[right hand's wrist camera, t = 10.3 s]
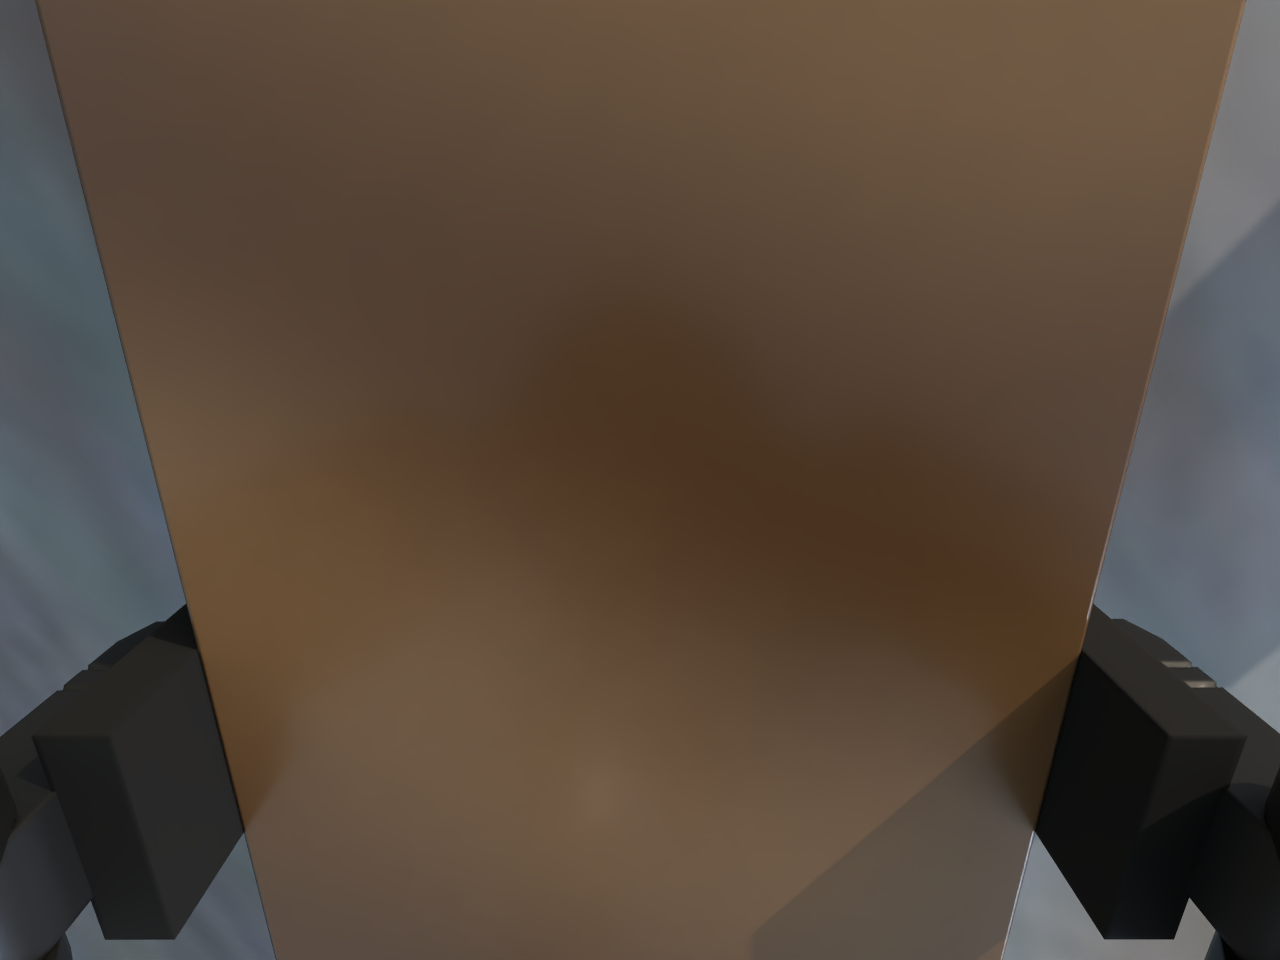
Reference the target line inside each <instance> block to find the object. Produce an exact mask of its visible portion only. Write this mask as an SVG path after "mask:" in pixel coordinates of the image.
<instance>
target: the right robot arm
mask: <svg viewBox="0 0 1280 960" xmlns="http://www.w3.org/2000/svg"><path fill="white" fill-rule="evenodd" d="M1191 664H1192V663H1191V662H1190V661H1189V660H1188V659H1187V658H1185V657H1184V656H1183V655H1182V654H1180V653H1179V652H1178V651H1177V650H1175V649H1174V648H1173V647H1172V646H1170V645H1169V644H1168V643H1167V642H1165V641H1164V640H1163V639H1161V638H1159V637H1157V636H1156V635H1154V634H1152V633H1150V632H1148V631H1146V630H1144V629H1142V628H1140V627H1138V626H1136V625H1134V624H1132V623H1130V622H1128V621H1126V620H1124V619H1110V618H1109V617H1108V616H1107V615H1106V614H1105V613H1103V612H1102V611H1101V610H1100V609H1099V608H1098V607H1096V606H1095V605H1094V604H1093V606H1092V610H1091V614H1090V618H1089V622H1088V626H1087V629H1086V633H1085V637H1084V641H1083V645H1082V649H1081V653H1080V657H1079V661H1078V665H1077V669H1076V673H1075V677H1074V681H1073V685H1072V689H1071V693H1070V696H1069V700H1068V704H1067V708H1066V712H1065V716H1064V720H1063V724H1062V728H1061V732H1060V736H1059V740H1058V744H1057V748H1056V752H1055V756H1054V760H1053V763H1052V767H1051V771H1050V775H1049V779H1048V783H1047V787H1046V791H1045V795H1044V799H1043V803H1042V807H1041V811H1040V815H1039V819H1038V823H1037V827H1036V830H1035V832H1036V834H1037V835H1038V837H1039V838H1040V840H1041V841H1042V843H1043V845H1044V846H1045V848H1046V849H1047V851H1048V852H1049V854H1050V855H1051V857H1052V859H1053V860H1054V862H1055V863H1056V865H1057V866H1058V868H1059V869H1060V871H1061V873H1062V874H1063V876H1064V877H1065V879H1066V880H1067V882H1068V883H1069V885H1070V887H1071V888H1072V890H1073V891H1074V893H1075V894H1076V896H1077V898H1078V899H1079V901H1080V902H1081V904H1082V905H1083V907H1084V908H1085V910H1086V912H1087V913H1088V915H1089V916H1090V918H1091V919H1092V921H1093V922H1094V924H1095V926H1096V927H1097V929H1098V930H1099V932H1100V933H1101V935H1102V936H1103V938H1104V939H1174V938H1175V935H1176V932H1177V929H1178V927H1179V924H1180V921H1181V918H1182V916H1183V913H1184V910H1185V907H1186V905H1187V902H1188V899H1189V897H1190V899H1191V900H1192V901H1193V902H1194V904H1195V905H1196V906H1197V907H1198V909H1199V910H1200V911H1201V912H1202V914H1203V915H1204V916H1205V917H1206V918H1207V920H1208V921H1209V922H1210V923H1211V925H1212V926H1213V927H1214V928H1215V930H1216V931H1215V934H1214V936H1213V939H1212V942H1211V944H1210V947H1209V949H1208V952H1207V954H1206V957H1205V960H1280V734H1279V733H1278V732H1277V731H1276V730H1274V729H1273V728H1272V727H1271V726H1269V725H1268V724H1267V723H1266V722H1265V721H1263V720H1262V719H1261V718H1260V717H1258V716H1257V715H1256V714H1255V713H1253V712H1252V711H1251V710H1250V709H1248V708H1247V707H1246V706H1245V705H1243V704H1242V703H1241V702H1240V701H1239V700H1237V699H1236V698H1235V697H1234V696H1232V695H1231V694H1230V693H1229V692H1227V691H1226V690H1225V689H1224V688H1217V686H1216V682H1215V681H1214V680H1213V679H1211V678H1210V677H1209V676H1208V675H1206V674H1205V673H1204V672H1203V671H1201V670H1200V669H1199V668H1198V667H1192V665H1191ZM243 833H244V830H243V826H242V822H241V818H240V814H239V810H238V806H237V803H236V799H235V795H234V791H233V787H232V783H231V779H230V775H229V771H228V767H227V763H226V759H225V755H224V751H223V747H222V743H221V739H220V735H219V731H218V727H217V723H216V719H215V715H214V711H213V707H212V703H211V699H210V695H209V691H208V687H207V683H206V679H205V675H204V671H203V667H202V663H201V659H200V655H199V651H198V647H197V643H196V639H195V635H194V631H193V627H192V623H191V619H190V615H189V611H188V607H187V603H186V604H185V605H184V606H183V607H182V608H180V609H179V610H178V611H177V612H176V613H175V614H173V615H172V616H171V617H170V618H169V619H168V620H166V621H165V622H155V623H153V624H151V625H149V626H147V627H145V628H143V629H141V630H139V631H137V632H135V633H133V634H131V635H130V636H128V637H126V638H124V639H122V640H120V641H118V642H116V643H115V644H114V645H113V646H112V647H110V648H109V649H108V650H107V651H105V652H104V653H103V654H102V655H100V656H99V657H98V658H97V659H96V660H94V661H93V662H92V663H91V664H89V665H88V670H82V671H81V672H80V673H78V674H77V675H76V676H75V677H73V678H72V679H71V680H70V681H69V682H67V683H66V684H65V685H64V689H63V691H56V692H55V693H54V694H53V695H51V696H50V697H49V698H48V699H46V700H45V701H44V702H43V703H41V704H40V705H39V706H38V707H37V708H35V709H34V710H33V711H32V712H30V713H29V714H28V715H27V716H25V717H24V718H23V719H22V720H21V721H19V722H18V723H17V724H16V725H14V726H13V727H12V728H11V729H10V730H8V731H7V732H6V733H5V734H3V735H2V736H1V737H0V960H72V953H71V947H70V944H69V942H68V939H67V936H66V934H65V932H66V930H67V929H68V928H69V927H70V925H71V924H72V923H73V922H74V920H75V919H76V918H77V917H78V915H79V914H80V913H81V912H82V910H83V909H84V908H85V907H86V905H87V904H88V903H89V902H90V901H91V902H92V905H93V908H94V910H95V913H96V916H97V919H98V921H99V924H100V927H101V929H102V932H103V935H104V938H105V940H144V939H175V938H176V937H177V935H178V934H179V932H180V930H181V929H182V927H183V926H184V924H185V923H186V921H187V920H188V918H189V916H190V915H191V913H192V912H193V910H194V909H195V907H196V906H197V904H198V902H199V901H200V899H201V898H202V896H203V895H204V893H205V892H206V890H207V888H208V887H209V885H210V884H211V882H212V881H213V879H214V878H215V876H216V874H217V873H218V871H219V870H220V868H221V867H222V865H223V864H224V862H225V861H226V859H227V857H228V856H229V854H230V853H231V851H232V850H233V848H234V847H235V845H236V843H237V842H238V840H239V839H240V837H241V836H242V834H243Z"/></svg>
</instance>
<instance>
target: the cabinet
mask: <svg viewBox="0 0 1280 960" xmlns="http://www.w3.org/2000/svg"><path fill="white" fill-rule="evenodd" d="M35 2H36V6H37V10H38V14H39V18H40V22H41V26H42V30H43V34H44V38H45V42H46V46H47V50H48V54H49V58H50V62H51V66H52V70H53V74H54V78H55V82H56V86H57V90H58V94H59V98H60V102H61V106H62V110H63V114H64V118H65V122H66V126H67V130H68V134H69V138H70V142H71V146H72V150H73V154H74V158H75V162H76V166H77V169H78V173H79V177H80V181H81V185H82V189H83V193H84V197H85V201H86V205H87V209H88V213H89V217H90V221H91V225H92V229H93V233H94V237H95V241H96V245H97V249H98V253H99V257H100V261H101V265H102V269H103V273H104V277H105V281H106V285H107V289H108V293H109V297H110V301H111V305H112V309H113V313H114V317H115V321H116V325H117V329H118V333H119V337H120V341H121V345H122V349H123V353H124V357H125V361H126V365H127V369H128V373H129V377H130V381H131V384H132V388H133V392H134V396H135V400H136V404H137V408H138V412H139V416H140V420H141V424H142V428H143V432H144V436H145V440H146V444H147V448H148V452H149V456H150V460H151V464H152V468H153V472H154V476H155V480H156V484H157V488H158V492H159V496H160V500H161V504H162V508H163V512H164V516H165V520H166V524H167V528H168V532H169V536H170V540H171V544H172V548H173V552H174V556H175V560H176V564H177V568H178V572H179V576H180V580H181V584H182V588H183V592H184V595H185V599H186V603H187V607H188V611H189V615H190V619H191V623H192V627H193V631H194V635H195V639H196V643H197V647H198V651H199V655H200V659H201V663H202V667H203V671H204V675H205V679H206V683H207V687H208V691H209V695H210V699H211V703H212V707H213V711H214V715H215V719H216V723H217V727H218V731H219V735H220V739H221V743H222V747H223V751H224V755H225V759H226V763H227V767H228V771H229V775H230V779H231V783H232V787H233V791H234V795H235V799H236V803H237V806H238V810H239V814H240V818H241V822H242V826H243V830H244V834H245V838H246V842H247V846H248V850H249V854H250V858H251V862H252V866H253V870H254V874H255V878H256V882H257V886H258V890H259V894H260V898H261V902H262V906H263V910H264V914H265V918H266V922H267V926H268V930H269V934H270V938H271V942H272V946H273V950H274V954H275V958H276V960H1003V957H1004V953H1005V949H1006V945H1007V941H1008V937H1009V933H1010V929H1011V925H1012V921H1013V917H1014V913H1015V909H1016V905H1017V901H1018V897H1019V894H1020V890H1021V886H1022V882H1023V878H1024V874H1025V870H1026V866H1027V862H1028V858H1029V854H1030V850H1031V846H1032V842H1033V838H1034V834H1035V830H1036V827H1037V823H1038V819H1039V815H1040V811H1041V807H1042V803H1043V799H1044V795H1045V791H1046V787H1047V783H1048V779H1049V775H1050V771H1051V767H1052V763H1053V760H1054V756H1055V752H1056V748H1057V744H1058V740H1059V736H1060V732H1061V728H1062V724H1063V720H1064V716H1065V712H1066V708H1067V704H1068V700H1069V696H1070V693H1071V689H1072V685H1073V681H1074V677H1075V673H1076V669H1077V665H1078V661H1079V657H1080V653H1081V649H1082V645H1083V641H1084V637H1085V633H1086V629H1087V626H1088V622H1089V618H1090V614H1091V610H1092V606H1093V602H1094V598H1095V594H1096V590H1097V586H1098V582H1099V578H1100V574H1101V570H1102V566H1103V562H1104V559H1105V555H1106V551H1107V547H1108V543H1109V539H1110V535H1111V531H1112V527H1113V523H1114V519H1115V515H1116V511H1117V507H1118V503H1119V499H1120V495H1121V492H1122V488H1123V484H1124V480H1125V476H1126V472H1127V468H1128V464H1129V460H1130V456H1131V452H1132V448H1133V444H1134V440H1135V436H1136V432H1137V428H1138V425H1139V421H1140V417H1141V413H1142V409H1143V405H1144V401H1145V397H1146V393H1147V389H1148V385H1149V381H1150V377H1151V373H1152V369H1153V365H1154V361H1155V358H1156V354H1157V350H1158V346H1159V342H1160V338H1161V334H1162V330H1163V326H1164V322H1165V318H1166V314H1167V310H1168V306H1169V302H1170V298H1171V294H1172V290H1173V287H1174V283H1175V279H1176V275H1177V271H1178V267H1179V263H1180V259H1181V255H1182V251H1183V247H1184V243H1185V239H1186V235H1187V231H1188V227H1189V223H1190V220H1191V216H1192V212H1193V208H1194V204H1195V200H1196V196H1197V192H1198V188H1199V184H1200V180H1201V176H1202V172H1203V168H1204V164H1205V160H1206V156H1207V153H1208V149H1209V145H1210V141H1211V137H1212V133H1213V129H1214V125H1215V121H1216V117H1217V113H1218V109H1219V105H1220V101H1221V97H1222V93H1223V89H1224V86H1225V82H1226V78H1227V74H1228V70H1229V66H1230V62H1231V58H1232V54H1233V50H1234V46H1235V42H1236V38H1237V34H1238V30H1239V26H1240V22H1241V19H1242V15H1243V11H1244V7H1245V3H1246V0H35Z"/></svg>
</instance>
